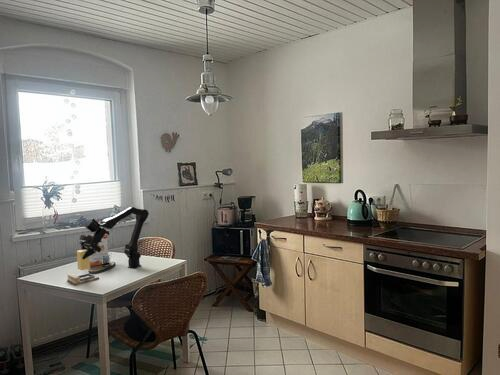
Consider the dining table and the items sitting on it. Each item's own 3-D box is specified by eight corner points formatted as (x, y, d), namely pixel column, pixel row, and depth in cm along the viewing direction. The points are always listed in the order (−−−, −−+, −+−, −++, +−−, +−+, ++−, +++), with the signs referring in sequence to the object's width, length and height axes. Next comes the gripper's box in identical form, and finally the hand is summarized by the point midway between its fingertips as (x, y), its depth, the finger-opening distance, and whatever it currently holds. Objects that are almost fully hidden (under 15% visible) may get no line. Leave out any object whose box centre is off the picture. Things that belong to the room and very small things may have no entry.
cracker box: (86, 266, 253) (84, 236, 251) (87, 264, 258) (85, 235, 257) (108, 264, 258) (106, 234, 256) (108, 262, 263) (106, 232, 262)
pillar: (86, 266, 227) (85, 249, 226) (90, 268, 224) (88, 250, 223) (78, 268, 223) (76, 250, 222) (81, 270, 220) (80, 252, 219)
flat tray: (90, 275, 232) (89, 269, 232) (99, 279, 224) (98, 272, 224) (67, 281, 222) (66, 274, 221) (75, 285, 214) (75, 278, 213)
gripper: (81, 227, 231) (64, 248, 224) (94, 230, 218) (77, 253, 211) (94, 237, 237) (78, 258, 230) (108, 241, 225) (91, 263, 217)
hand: (80, 258), depth 222 cm, fingers closed on pillar, 5 cm apart
